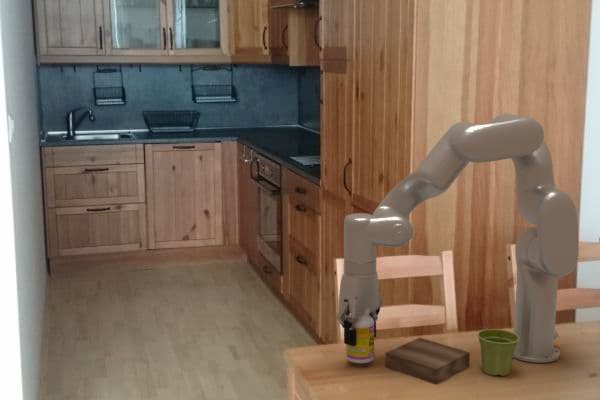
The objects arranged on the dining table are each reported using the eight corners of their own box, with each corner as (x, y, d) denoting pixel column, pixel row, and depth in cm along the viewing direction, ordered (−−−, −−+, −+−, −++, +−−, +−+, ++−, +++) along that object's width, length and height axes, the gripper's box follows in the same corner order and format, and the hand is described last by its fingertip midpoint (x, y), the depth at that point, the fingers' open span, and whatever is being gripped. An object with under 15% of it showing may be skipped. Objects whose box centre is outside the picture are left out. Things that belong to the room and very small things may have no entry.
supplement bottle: (372, 365, 175) (372, 312, 172) (344, 363, 176) (344, 310, 174) (375, 354, 181) (375, 303, 179) (348, 352, 182) (348, 301, 180)
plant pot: (489, 360, 181) (491, 325, 180) (524, 371, 175) (527, 335, 173) (467, 371, 175) (469, 335, 173) (503, 383, 168) (505, 346, 167)
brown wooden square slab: (419, 351, 187) (419, 337, 186) (469, 366, 177) (469, 352, 177) (385, 366, 177) (385, 352, 176) (435, 384, 167) (436, 369, 167)
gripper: (370, 257, 183) (370, 327, 186) (323, 271, 171) (323, 346, 174) (395, 262, 178) (395, 334, 181) (348, 277, 166) (348, 354, 169)
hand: (360, 339), depth 178 cm, fingers closed on supplement bottle, 6 cm apart
